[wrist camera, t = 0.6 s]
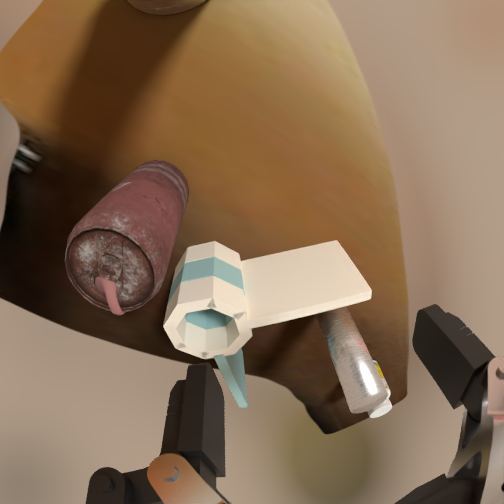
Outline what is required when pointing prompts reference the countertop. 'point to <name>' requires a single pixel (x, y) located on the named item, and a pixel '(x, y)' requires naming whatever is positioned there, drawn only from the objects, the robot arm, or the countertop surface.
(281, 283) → the white hinge leaf
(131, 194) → the can
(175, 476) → the robot arm
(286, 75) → the countertop surface
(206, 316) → the leaf
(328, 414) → the countertop surface
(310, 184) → the countertop surface
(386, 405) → the supplement bottle
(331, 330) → the hinge pin
